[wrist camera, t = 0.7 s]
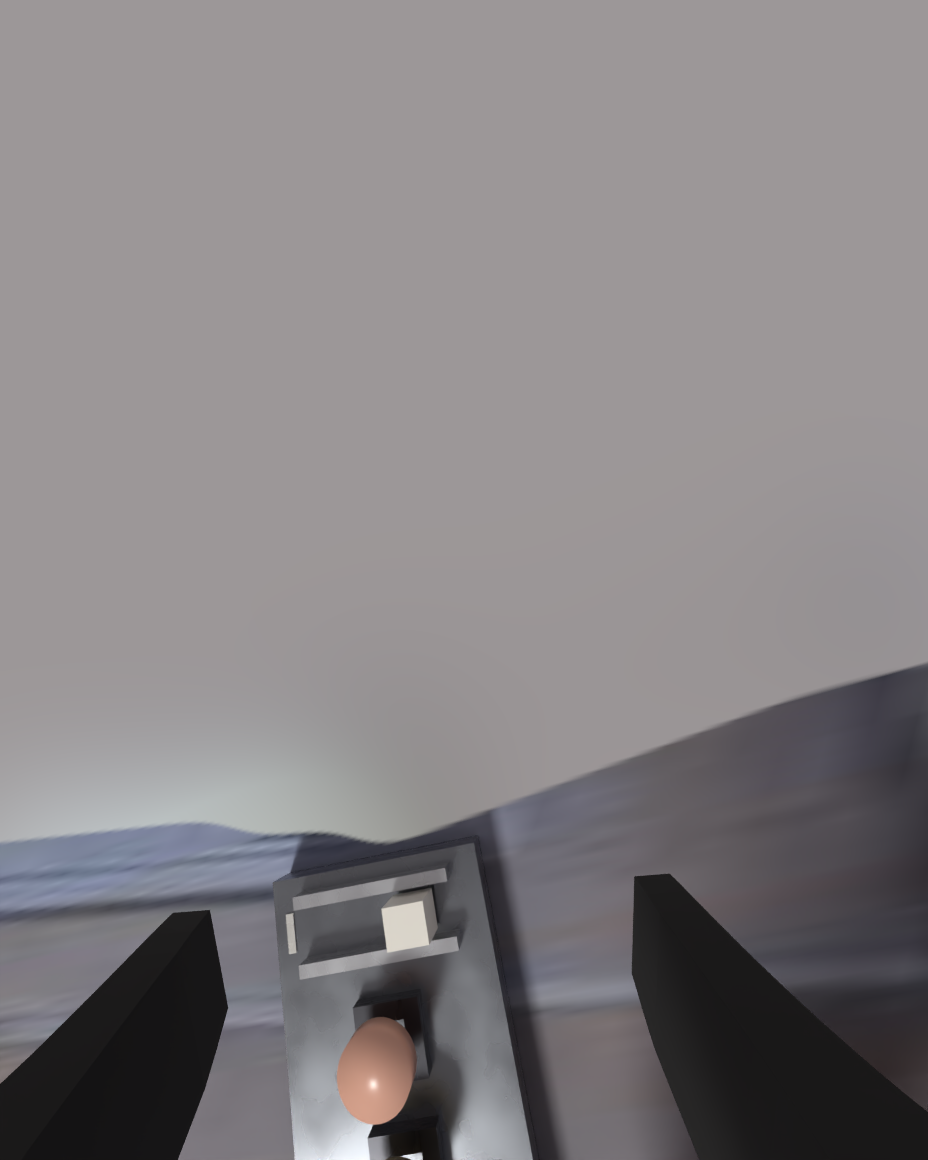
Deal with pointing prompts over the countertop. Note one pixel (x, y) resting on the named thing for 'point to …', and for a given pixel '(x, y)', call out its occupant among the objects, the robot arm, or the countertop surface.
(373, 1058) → the terracotta button
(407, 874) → the panel
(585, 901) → the countertop surface
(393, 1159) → the brass button
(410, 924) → the slider knob
